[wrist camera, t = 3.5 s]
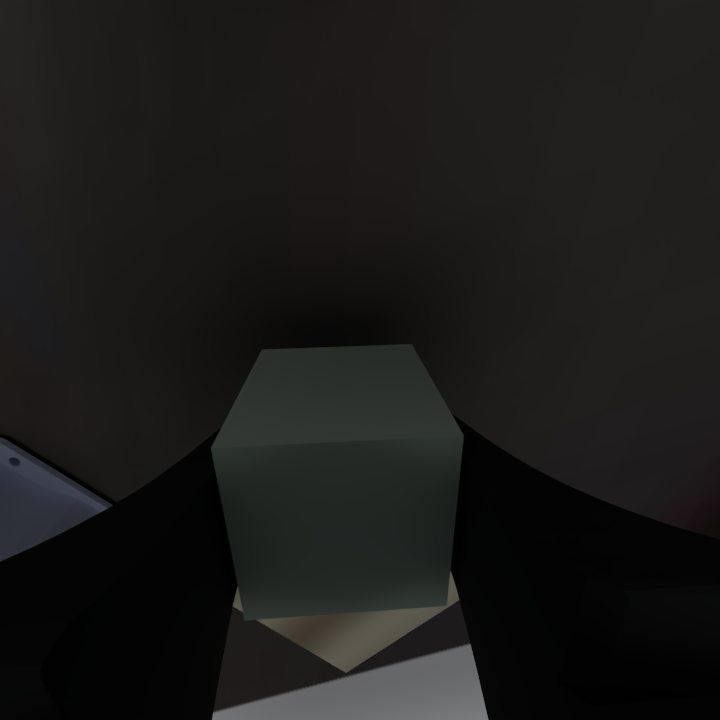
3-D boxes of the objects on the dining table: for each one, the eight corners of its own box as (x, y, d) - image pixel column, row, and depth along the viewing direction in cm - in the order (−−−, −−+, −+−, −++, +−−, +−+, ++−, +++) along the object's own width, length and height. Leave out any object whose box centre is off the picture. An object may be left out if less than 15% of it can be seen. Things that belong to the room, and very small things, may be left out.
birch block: (231, 550, 23) (217, 597, 20) (351, 452, 21) (353, 490, 18) (345, 623, 26) (346, 672, 23) (459, 545, 24) (475, 589, 21)
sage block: (277, 473, 13) (244, 620, 8) (261, 349, 11) (210, 447, 7) (407, 465, 13) (446, 605, 9) (411, 343, 11) (463, 435, 7)
